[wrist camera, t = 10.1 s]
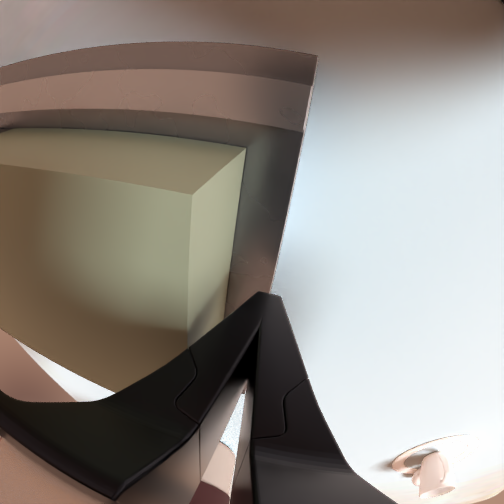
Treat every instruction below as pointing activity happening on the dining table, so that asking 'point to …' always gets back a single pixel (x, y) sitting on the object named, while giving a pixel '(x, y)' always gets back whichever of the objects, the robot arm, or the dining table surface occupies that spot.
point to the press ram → (114, 246)
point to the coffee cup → (216, 478)
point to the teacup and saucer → (435, 466)
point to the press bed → (187, 120)
